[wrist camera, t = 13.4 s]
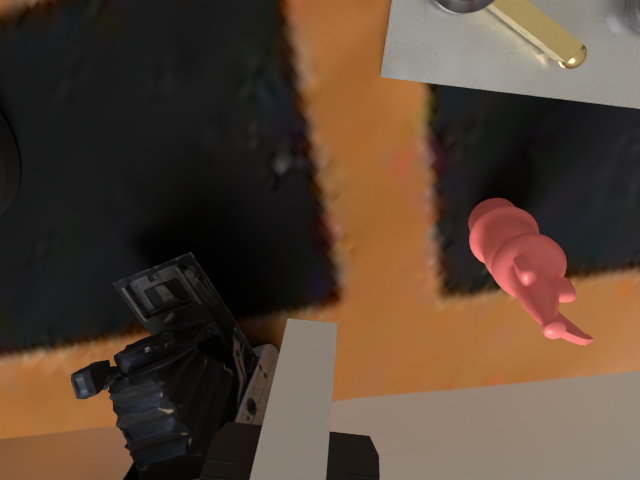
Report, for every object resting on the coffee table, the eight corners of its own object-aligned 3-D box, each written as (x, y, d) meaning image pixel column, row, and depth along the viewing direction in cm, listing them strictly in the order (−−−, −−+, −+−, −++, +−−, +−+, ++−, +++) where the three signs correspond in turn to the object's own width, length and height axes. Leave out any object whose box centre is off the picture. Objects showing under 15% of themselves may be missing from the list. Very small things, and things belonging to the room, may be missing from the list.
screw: (409, -14, 29) (414, -18, 25) (455, -86, 27) (467, -101, 23) (546, 90, 30) (567, 99, 27) (599, 29, 28) (629, 30, 25)
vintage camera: (215, 230, 41) (76, 384, 23) (289, 363, 46) (223, 575, 28) (130, 264, 44) (-53, 424, 26) (209, 385, 49) (101, 591, 31)
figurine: (542, 208, 36) (640, 319, 23) (502, 258, 38) (570, 386, 25) (487, 178, 36) (554, 274, 22) (450, 231, 38) (490, 346, 24)
